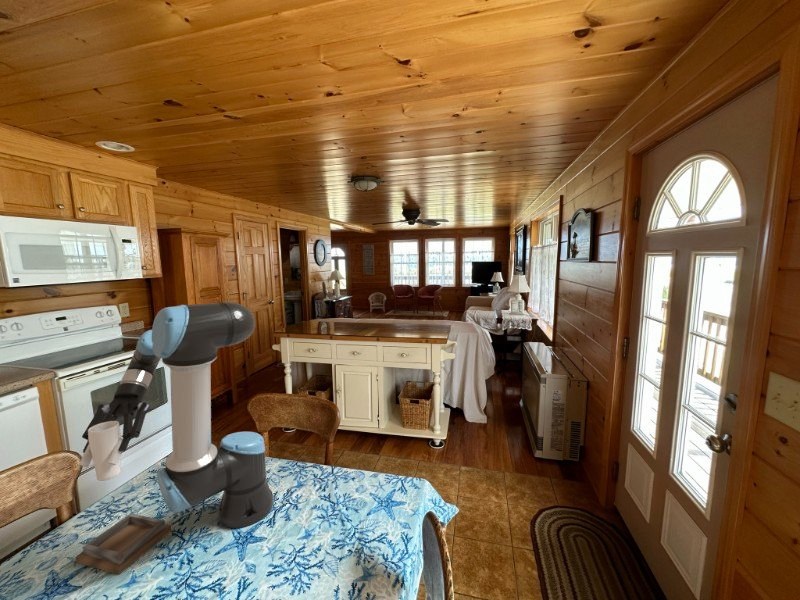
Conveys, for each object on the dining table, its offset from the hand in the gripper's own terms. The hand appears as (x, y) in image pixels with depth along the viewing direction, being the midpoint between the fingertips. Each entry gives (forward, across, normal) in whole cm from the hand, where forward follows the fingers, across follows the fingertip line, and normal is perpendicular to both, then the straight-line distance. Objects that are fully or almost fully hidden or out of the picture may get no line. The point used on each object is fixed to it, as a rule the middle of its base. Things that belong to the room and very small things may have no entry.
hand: (98, 464), depth 92 cm
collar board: (+18, -10, -9) cm, 23 cm away
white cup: (+2, 0, -6) cm, 7 cm away
